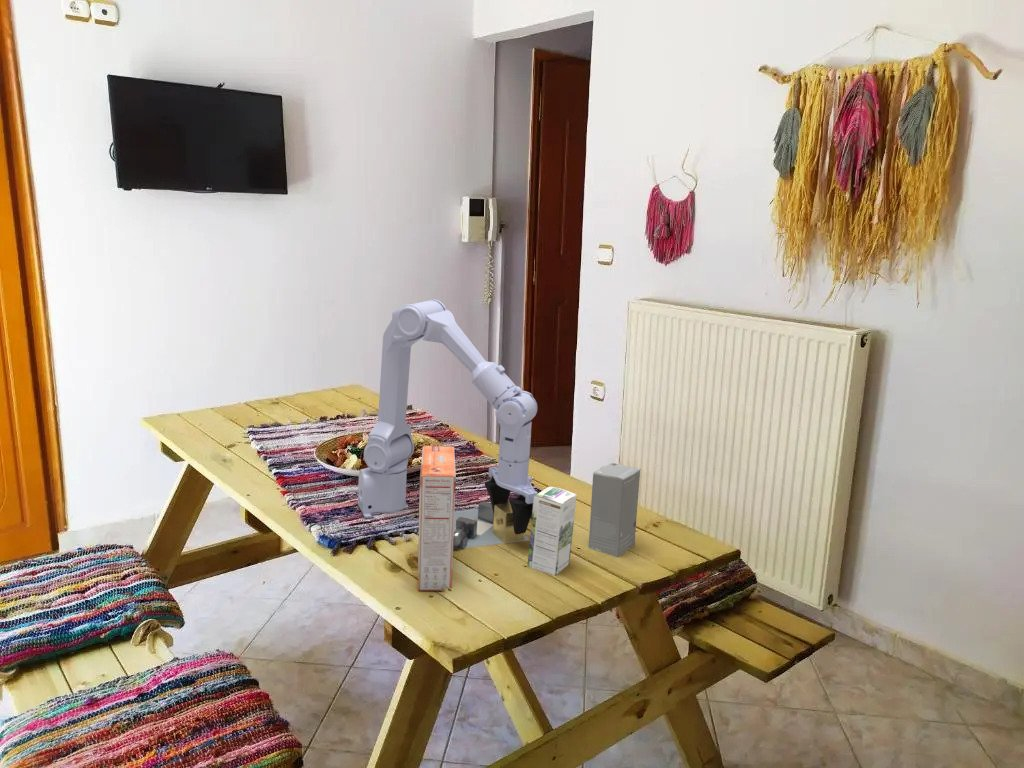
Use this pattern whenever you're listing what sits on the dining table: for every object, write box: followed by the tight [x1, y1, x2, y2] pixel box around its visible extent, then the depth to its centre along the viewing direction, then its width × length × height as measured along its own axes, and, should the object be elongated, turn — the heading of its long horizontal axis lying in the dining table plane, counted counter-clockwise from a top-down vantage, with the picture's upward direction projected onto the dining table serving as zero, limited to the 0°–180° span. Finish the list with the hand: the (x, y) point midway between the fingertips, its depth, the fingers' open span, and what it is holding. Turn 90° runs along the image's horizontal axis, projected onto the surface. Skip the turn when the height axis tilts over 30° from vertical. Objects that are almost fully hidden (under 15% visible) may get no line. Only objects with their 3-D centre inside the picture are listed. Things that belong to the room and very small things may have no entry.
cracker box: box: [417, 445, 457, 592], centre depth 136 cm, size 14×6×21 cm, turn 5°
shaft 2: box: [477, 498, 510, 524], centre depth 161 cm, size 7×4×3 cm, turn 146°
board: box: [453, 508, 530, 550], centre depth 156 cm, size 16×16×1 cm
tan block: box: [493, 502, 526, 544], centre depth 152 cm, size 5×4×6 cm
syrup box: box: [526, 486, 578, 576], centre depth 141 cm, size 6×6×14 cm
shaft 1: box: [453, 517, 477, 550], centre depth 148 cm, size 7×4×3 cm, turn 161°
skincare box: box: [588, 462, 641, 558], centre depth 150 cm, size 8×7×16 cm
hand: (509, 524), depth 152 cm, fingers open, 7 cm apart
